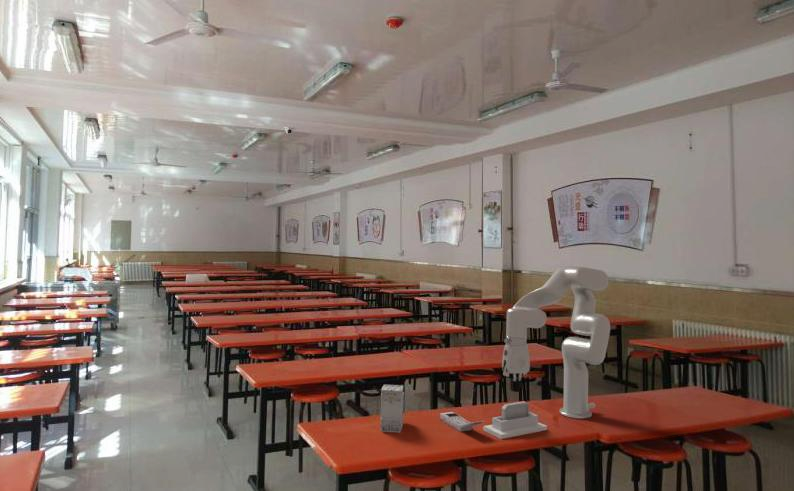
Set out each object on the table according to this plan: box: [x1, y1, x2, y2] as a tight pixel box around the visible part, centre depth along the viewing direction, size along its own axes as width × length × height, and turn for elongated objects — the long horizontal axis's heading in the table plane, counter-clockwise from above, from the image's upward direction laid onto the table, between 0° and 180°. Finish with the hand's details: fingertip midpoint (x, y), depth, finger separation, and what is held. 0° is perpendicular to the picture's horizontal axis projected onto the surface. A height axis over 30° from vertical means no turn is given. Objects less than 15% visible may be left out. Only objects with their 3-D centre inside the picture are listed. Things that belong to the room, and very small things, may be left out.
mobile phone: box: [439, 411, 485, 433], centre depth 191 cm, size 6×6×25 cm
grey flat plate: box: [501, 400, 530, 421], centre depth 188 cm, size 2×12×8 cm, turn 118°
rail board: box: [482, 411, 548, 440], centre depth 188 cm, size 22×10×5 cm, turn 118°
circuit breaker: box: [379, 384, 405, 434], centre depth 191 cm, size 8×14×15 cm, turn 174°
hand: (514, 391), depth 188 cm, fingers closed
